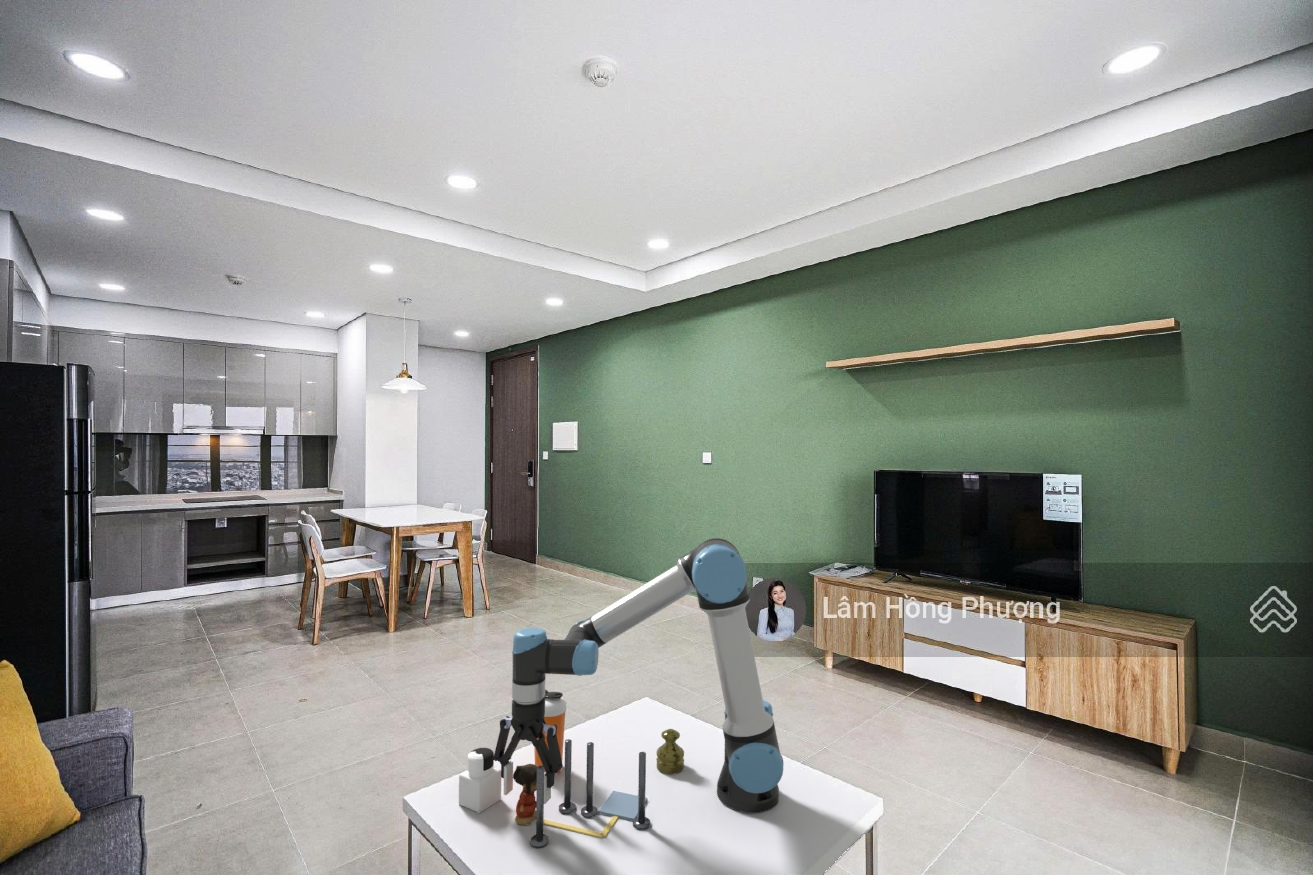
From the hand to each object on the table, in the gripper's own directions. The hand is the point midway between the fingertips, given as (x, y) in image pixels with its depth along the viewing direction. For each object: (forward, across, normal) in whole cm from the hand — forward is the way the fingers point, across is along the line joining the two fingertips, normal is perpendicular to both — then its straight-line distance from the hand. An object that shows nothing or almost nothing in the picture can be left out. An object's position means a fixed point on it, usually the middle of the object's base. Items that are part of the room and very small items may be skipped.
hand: (527, 796), depth 142 cm
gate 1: (+5, -7, 0) cm, 9 cm away
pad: (+5, -19, -12) cm, 23 cm away
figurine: (+5, 0, 0) cm, 5 cm away
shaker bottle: (+5, +6, -21) cm, 22 cm away
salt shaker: (+5, -24, -33) cm, 41 cm away
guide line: (+5, -12, -3) cm, 13 cm away
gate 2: (+5, -19, -7) cm, 21 cm away
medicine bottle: (+5, +14, -2) cm, 15 cm away
